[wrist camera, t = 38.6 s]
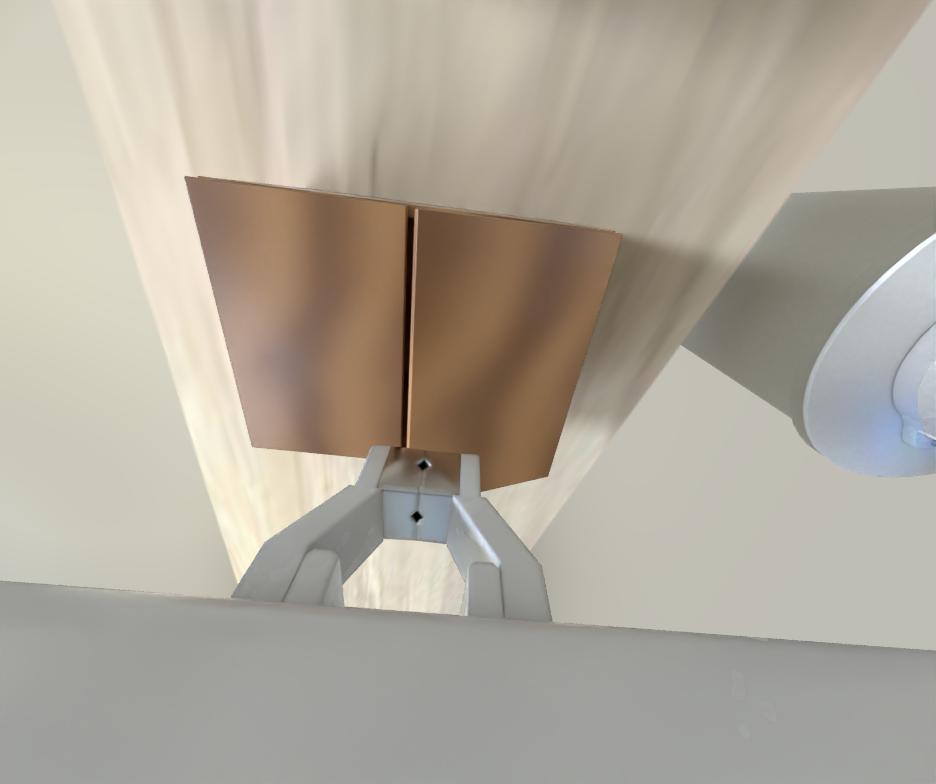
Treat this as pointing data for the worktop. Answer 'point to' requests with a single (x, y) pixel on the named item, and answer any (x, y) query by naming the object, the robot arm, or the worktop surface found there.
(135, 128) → the worktop surface
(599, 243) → the carton flap
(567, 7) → the worktop surface
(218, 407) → the worktop surface
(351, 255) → the carton
